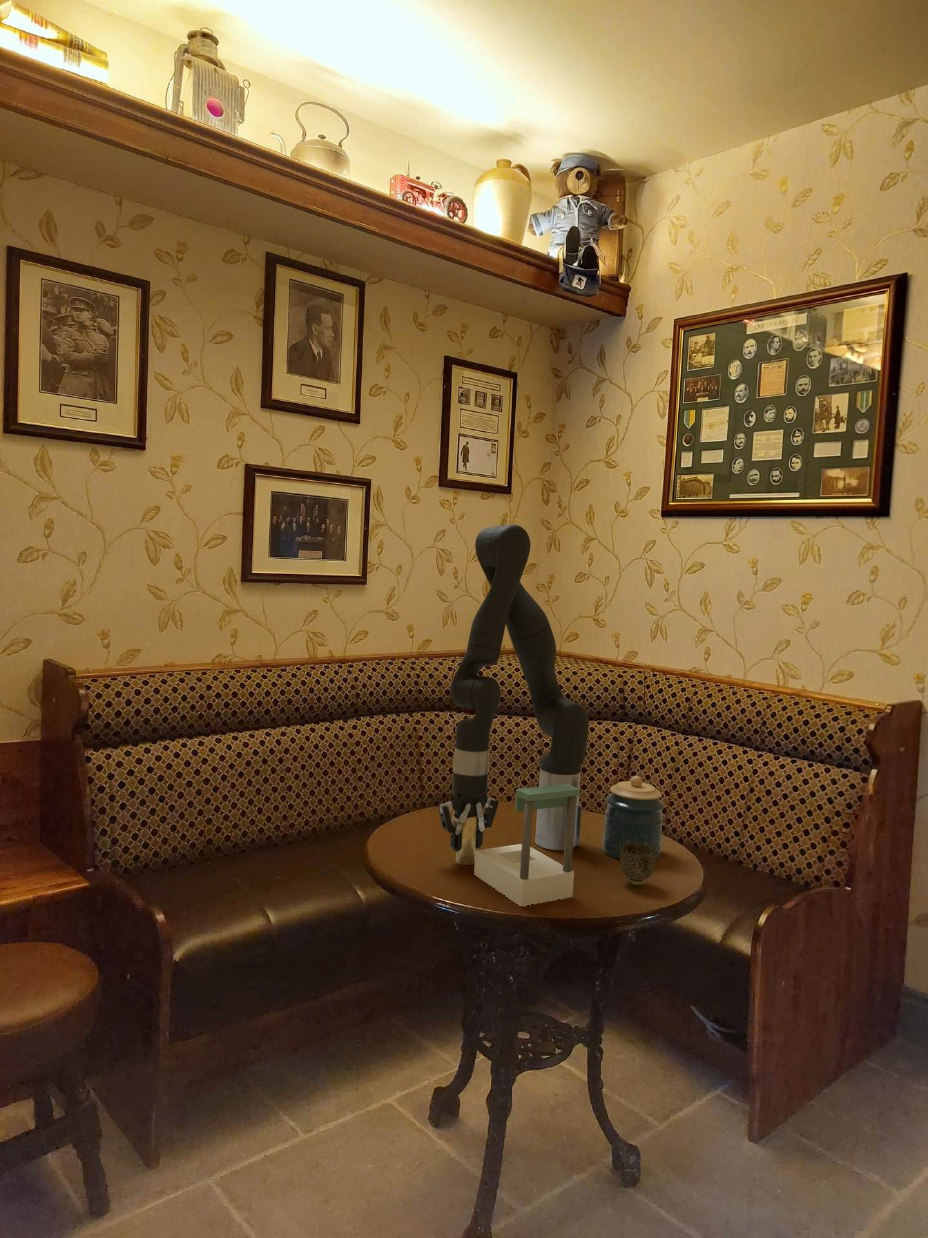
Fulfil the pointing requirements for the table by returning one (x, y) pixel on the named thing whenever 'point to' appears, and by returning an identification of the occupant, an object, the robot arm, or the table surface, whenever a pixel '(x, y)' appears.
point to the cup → (637, 862)
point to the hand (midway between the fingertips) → (466, 848)
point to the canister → (632, 816)
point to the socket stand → (532, 853)
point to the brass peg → (467, 842)
